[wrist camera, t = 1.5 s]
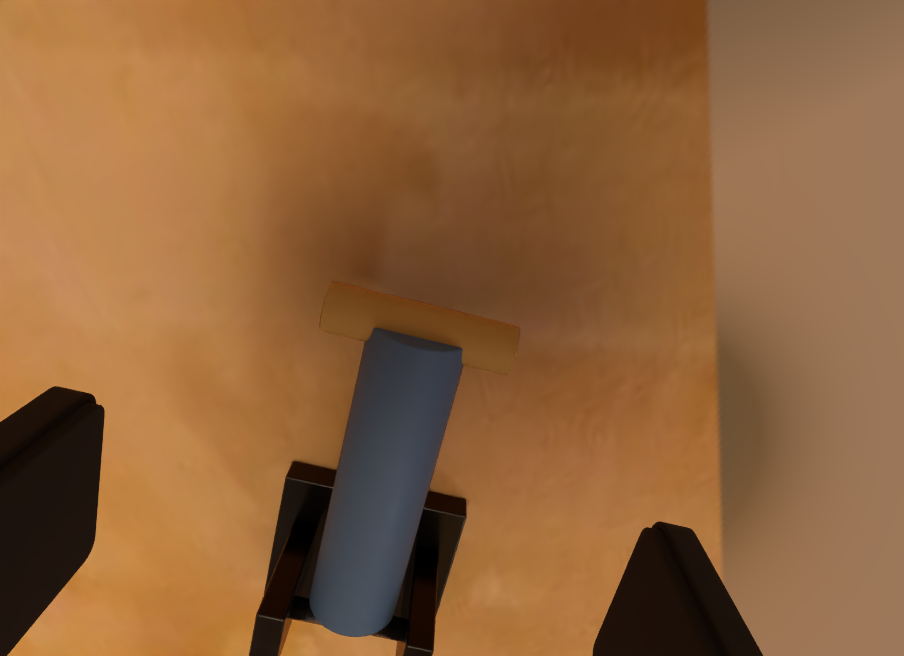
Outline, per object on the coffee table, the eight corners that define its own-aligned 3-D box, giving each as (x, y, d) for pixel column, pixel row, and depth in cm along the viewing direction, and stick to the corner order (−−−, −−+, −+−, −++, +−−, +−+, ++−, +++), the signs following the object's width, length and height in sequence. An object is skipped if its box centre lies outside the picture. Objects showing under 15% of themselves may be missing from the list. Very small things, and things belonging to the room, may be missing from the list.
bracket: (293, 460, 27) (242, 565, 20) (466, 499, 27) (467, 613, 21) (270, 578, 29) (219, 704, 23) (432, 612, 29) (424, 744, 23)
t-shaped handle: (340, 268, 21) (319, 296, 18) (515, 311, 21) (524, 346, 18) (284, 556, 25) (259, 619, 22) (432, 587, 25) (428, 653, 22)
